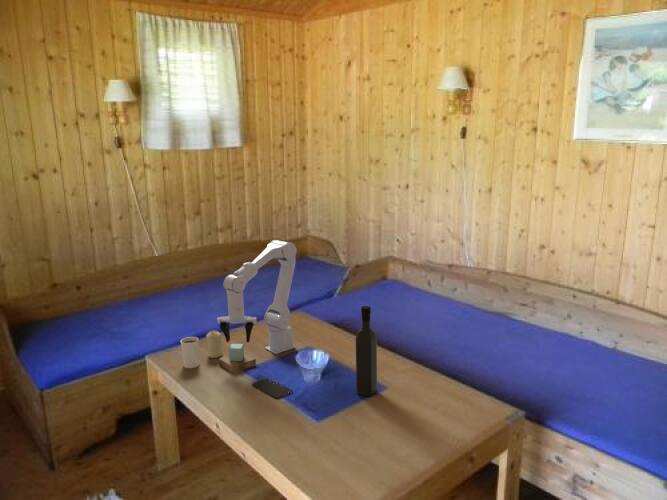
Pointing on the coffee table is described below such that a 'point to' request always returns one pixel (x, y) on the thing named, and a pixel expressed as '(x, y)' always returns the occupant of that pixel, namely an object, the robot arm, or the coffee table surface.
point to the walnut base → (237, 363)
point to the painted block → (236, 352)
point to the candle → (214, 344)
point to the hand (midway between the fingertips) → (238, 341)
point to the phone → (271, 388)
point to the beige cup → (190, 352)
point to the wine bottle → (366, 356)
